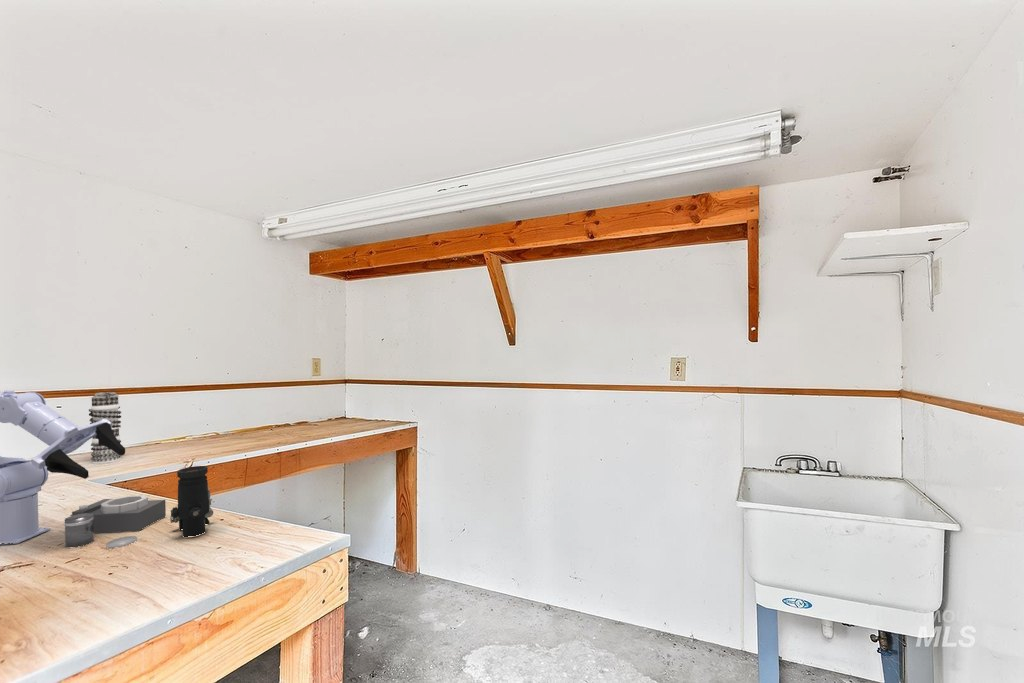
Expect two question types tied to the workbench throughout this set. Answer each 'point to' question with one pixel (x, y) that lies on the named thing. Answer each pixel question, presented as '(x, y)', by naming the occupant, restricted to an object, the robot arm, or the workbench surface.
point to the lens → (79, 530)
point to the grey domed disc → (121, 541)
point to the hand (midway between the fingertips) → (105, 463)
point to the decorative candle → (108, 409)
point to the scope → (192, 501)
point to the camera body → (124, 513)
